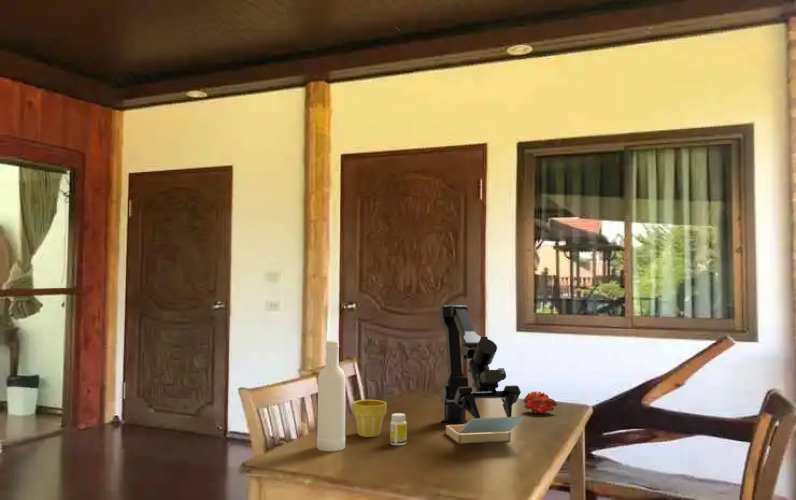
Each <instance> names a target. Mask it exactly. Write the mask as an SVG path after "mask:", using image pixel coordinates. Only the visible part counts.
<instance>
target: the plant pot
mask: <svg viewBox="0 0 796 500" xmlns="http://www.w3.org/2000/svg"><path fill="white" fill-rule="evenodd" d="M387 405H388V403H387V402H386V401H384V400H379V399H378V400H377V399H359V400H356V401H355V400H354V401H353V404H352V414H353V415H354V416H355V423H356V429H357V433H358V436H360V437H365V438H366V437H367V438H375V437H379V436H380V435H381V431H382V427H383V422H384V418H385V416H386V414H387V408H388V407H387Z"/></svg>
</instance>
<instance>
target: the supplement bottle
mask: <svg viewBox="0 0 796 500" xmlns="http://www.w3.org/2000/svg"><path fill="white" fill-rule="evenodd" d="M389 423H390V424H389V426H390V427H389V432H390V433H389V434H390V436H389V437H390V439H389V440H390V441H389V442H390V444H391V445H392V446H404V445H406V444H407V442H408V441H407V439H408V438H407V437H408V436H407V435H408V434H407V433H408V432H407V429H408V427H407V426H408V425H407V424H408V423H407V421H406V414H405V413H401V412H398V413H397V412H396V413H392V414H391V420H390V422H389Z"/></svg>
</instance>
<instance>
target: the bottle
mask: <svg viewBox="0 0 796 500" xmlns="http://www.w3.org/2000/svg"><path fill="white" fill-rule="evenodd" d="M339 348H340V342H339V341H338V340H326V341H325V366H324V367H323V368H322V369H321V370H320V372H319V375H318V378H317V384H318V385H317V437H316V439H317V441H316V447H317V449H318V450H319V451H322V452H339V451H342V450H343V451H344V449H345V448H346V384H347V383H346V380H347V379H346V375H345V372H344V369H343V368H341V367H340V366H339V360H340V359H339V358H340V357H339V355H340V353H339V350H340V349H339Z"/></svg>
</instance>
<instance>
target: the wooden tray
mask: <svg viewBox="0 0 796 500" xmlns="http://www.w3.org/2000/svg"><path fill="white" fill-rule="evenodd" d="M466 424H467V423H466ZM466 424H465V423H464V424H448V425H447V424H446V425H445V434H446V435H447V436H448V437H449V438H451V440H454V442H456V443H458V444H460V445H461V444H480V443H498V442H511V431H503V432H483V433H462V434H460V433H459V432H460V431H461V430H462V429H463V428H464V426H465V425H466Z"/></svg>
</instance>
